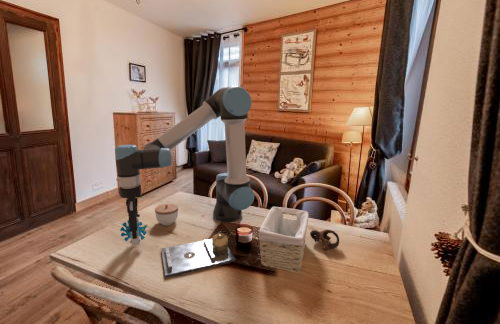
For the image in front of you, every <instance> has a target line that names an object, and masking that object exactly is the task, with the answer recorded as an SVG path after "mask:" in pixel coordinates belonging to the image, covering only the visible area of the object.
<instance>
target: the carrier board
mask: <svg viewBox="0 0 500 324" xmlns="http://www.w3.org/2000/svg"><path fill="white" fill-rule="evenodd" d="M211 237H212V238H209V239H208V238H205V239H203V240H198V241H194V242H188V243H183V244H178V245H172V246H165V247H161V249H160V251H161V255H162V256H161V257H162V258H161V259H162V264H163V271H164V279H168V278H169V279H170V278H172V277H177V276H183V275H186V274H190V273H194V272H198V271H202V270H206V269H211V268H215V267H219V266H220V267H221V266H224V265H227V264H232V263H231V262H232V261H236V258H235V256H234V254H233V252H232V251H231V249H230V247H229V246H228V245H229V244H228V238H229V237H228V235H227V234H225V233H222V232H218V233H216V234H214V235H212V236H211Z"/></svg>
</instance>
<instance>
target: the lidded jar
mask: <svg viewBox="0 0 500 324" xmlns="http://www.w3.org/2000/svg"><path fill="white" fill-rule="evenodd" d="M154 213H155V214H154V215H155V219H156V220H157V222H158V223H159V224H161V225H162V226H170V225H173V224H174V223H175V222H176V220H177V218H178V215H179V206H178V205H177V204H175V203H163V204H160V205H158V206H156V207H155V208H154Z"/></svg>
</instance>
